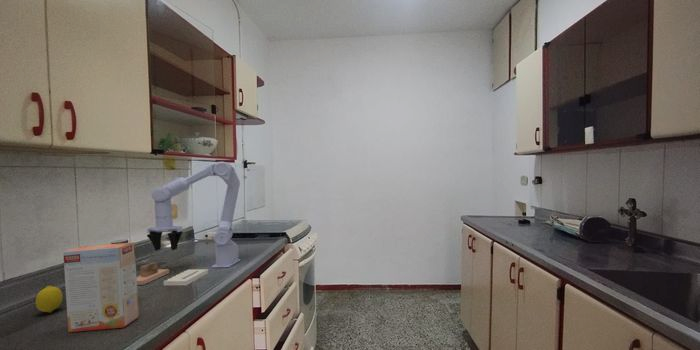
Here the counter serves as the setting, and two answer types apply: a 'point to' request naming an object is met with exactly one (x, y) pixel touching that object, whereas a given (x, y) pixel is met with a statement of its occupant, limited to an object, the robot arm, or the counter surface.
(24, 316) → the counter surface
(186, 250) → the counter surface
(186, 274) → the board
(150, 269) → the stub
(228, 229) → the robot arm
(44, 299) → the lemon
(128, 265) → the cracker box
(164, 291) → the counter surface
